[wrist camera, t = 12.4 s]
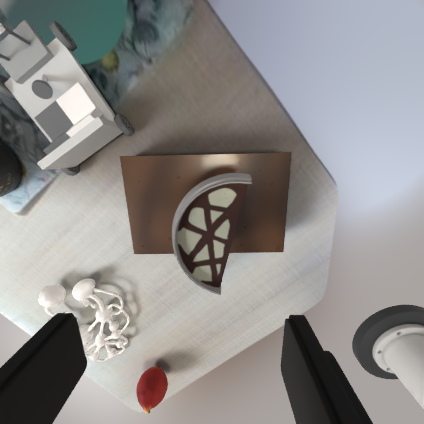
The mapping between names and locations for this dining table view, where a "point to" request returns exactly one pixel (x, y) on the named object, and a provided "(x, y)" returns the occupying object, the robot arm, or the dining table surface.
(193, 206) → the food container
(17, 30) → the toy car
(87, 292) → the tangled rod sculpture
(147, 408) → the onion
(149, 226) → the shelf
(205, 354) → the dining table surface
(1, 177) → the jar
